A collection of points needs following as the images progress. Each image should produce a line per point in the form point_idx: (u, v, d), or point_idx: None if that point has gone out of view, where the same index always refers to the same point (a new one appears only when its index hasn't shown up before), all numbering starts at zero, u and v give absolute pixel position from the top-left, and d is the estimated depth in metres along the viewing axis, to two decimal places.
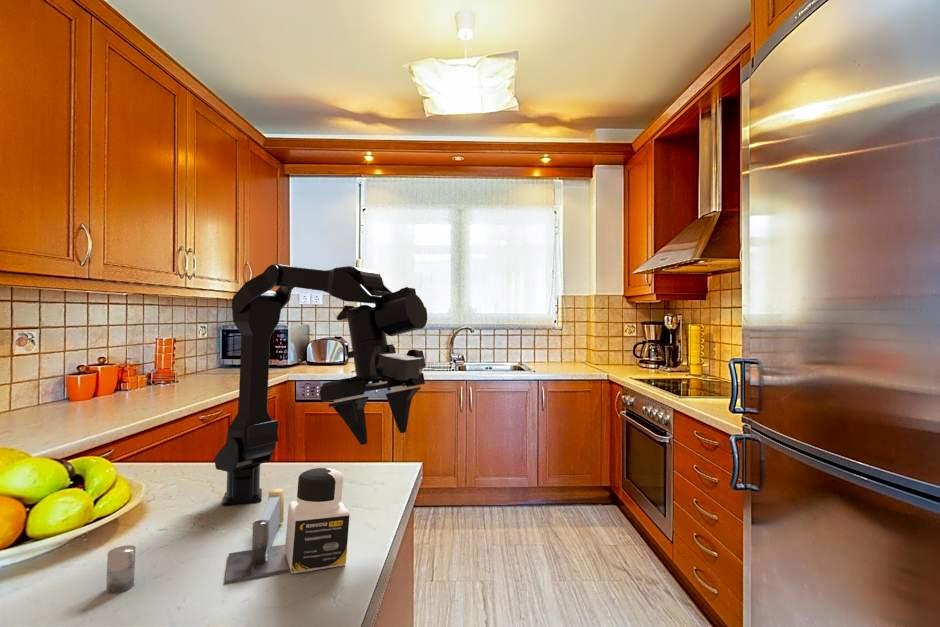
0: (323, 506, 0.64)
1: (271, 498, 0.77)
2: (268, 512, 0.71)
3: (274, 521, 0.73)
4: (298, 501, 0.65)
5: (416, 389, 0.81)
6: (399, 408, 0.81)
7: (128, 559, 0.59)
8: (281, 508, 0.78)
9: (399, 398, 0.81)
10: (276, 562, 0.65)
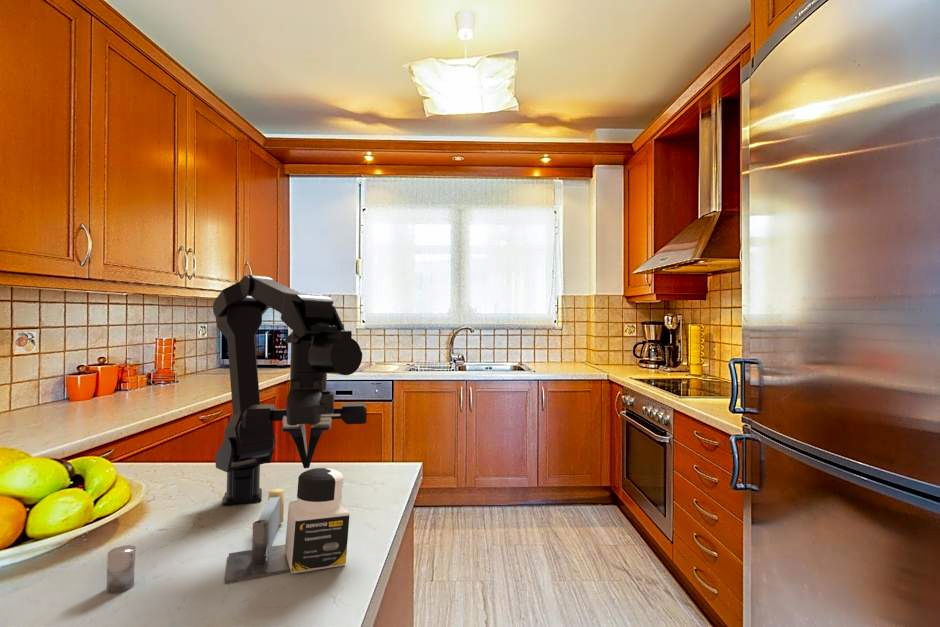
0: (323, 506, 0.64)
1: (271, 498, 0.77)
2: (268, 512, 0.71)
3: (274, 521, 0.73)
4: (298, 501, 0.65)
5: (319, 429, 0.76)
6: None
7: (128, 559, 0.59)
8: (281, 508, 0.78)
9: None
10: (276, 562, 0.65)
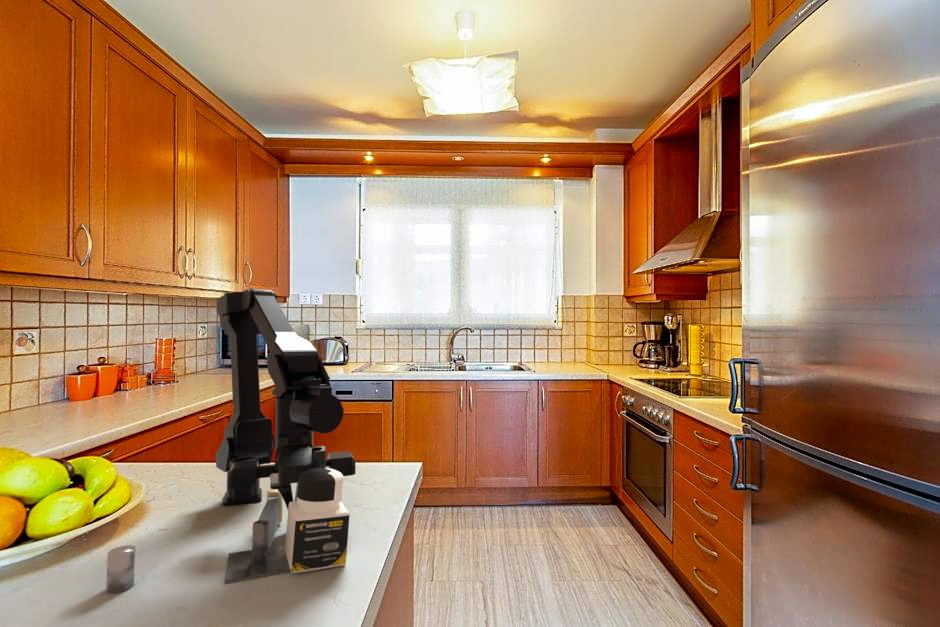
0: (323, 506, 0.64)
1: (270, 498, 0.77)
2: (268, 512, 0.71)
3: (273, 521, 0.73)
4: (298, 501, 0.65)
5: None
6: (295, 496, 0.77)
7: (128, 559, 0.59)
8: (280, 508, 0.78)
9: (297, 486, 0.77)
10: (276, 562, 0.65)
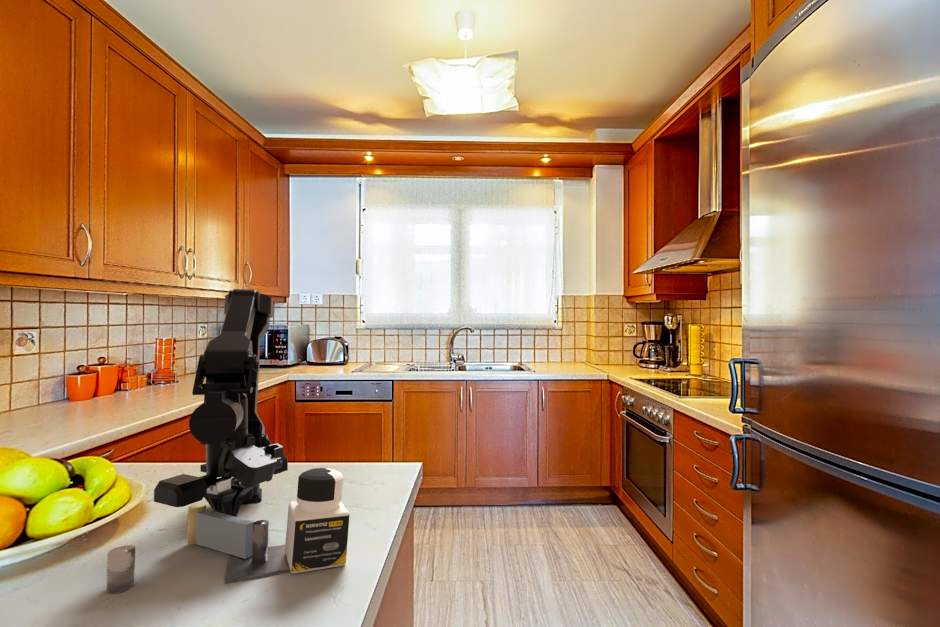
0: (323, 506, 0.64)
1: (203, 513, 0.70)
2: (236, 519, 0.68)
3: None
4: (298, 501, 0.65)
5: (250, 487, 0.73)
6: None
7: (128, 559, 0.59)
8: None
9: None
10: (276, 562, 0.65)
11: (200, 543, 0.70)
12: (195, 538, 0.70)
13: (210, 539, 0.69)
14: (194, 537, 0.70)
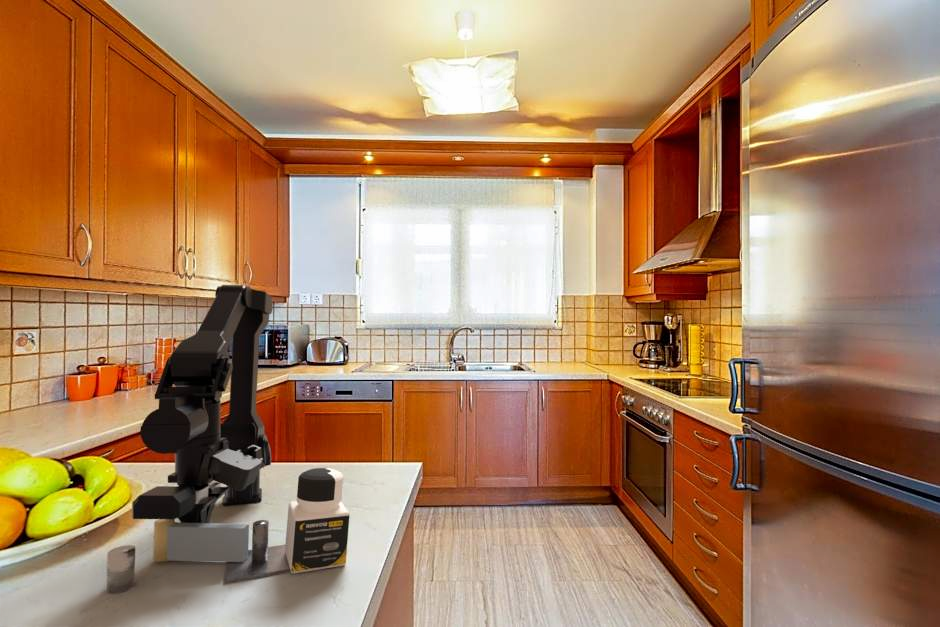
0: (323, 506, 0.64)
1: (177, 525, 0.66)
2: (224, 525, 0.66)
3: None
4: (298, 501, 0.65)
5: (224, 492, 0.71)
6: None
7: (128, 559, 0.59)
8: None
9: None
10: (276, 562, 0.65)
11: (173, 558, 0.65)
12: (166, 554, 0.65)
13: (189, 551, 0.65)
14: (165, 554, 0.65)
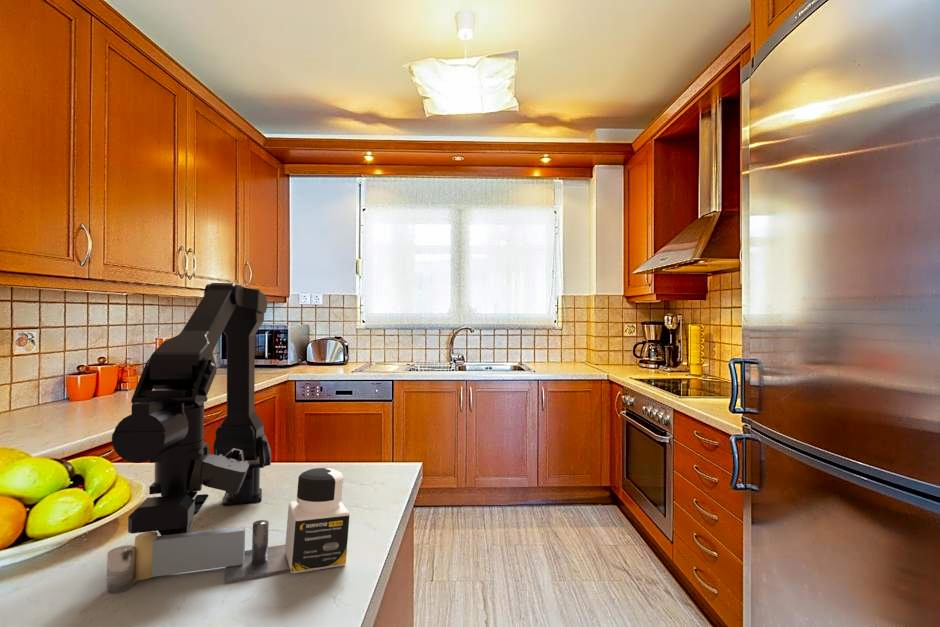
0: (323, 506, 0.64)
1: (163, 538, 0.62)
2: (218, 530, 0.64)
3: None
4: (298, 501, 0.65)
5: (205, 499, 0.68)
6: None
7: (128, 559, 0.59)
8: None
9: None
10: (276, 562, 0.65)
11: (160, 573, 0.61)
12: (152, 570, 0.61)
13: (180, 563, 0.62)
14: (150, 570, 0.61)
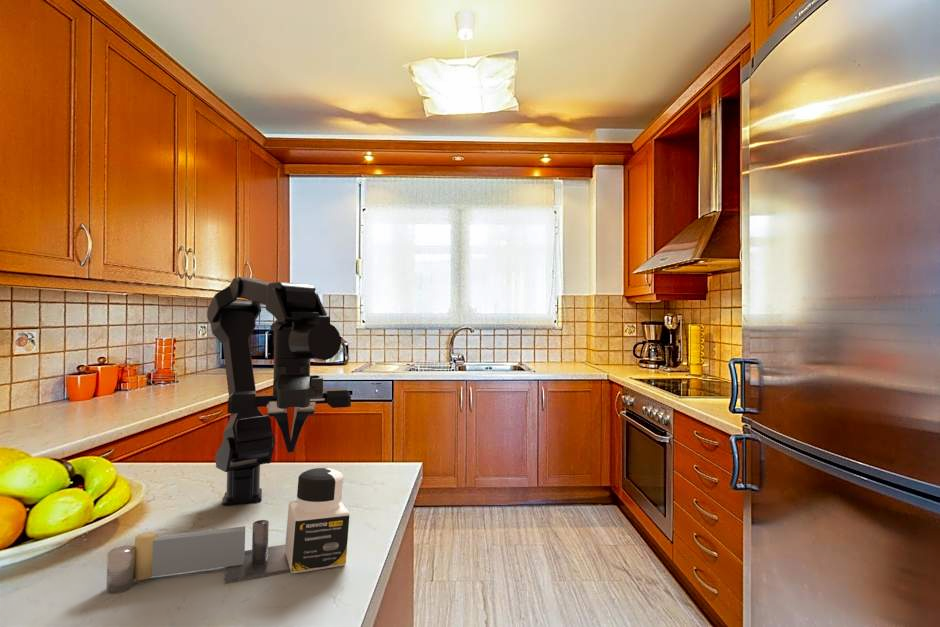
0: (323, 506, 0.64)
1: (163, 538, 0.62)
2: (218, 530, 0.64)
3: None
4: (298, 501, 0.65)
5: (305, 413, 0.78)
6: (293, 427, 0.80)
7: (128, 559, 0.59)
8: None
9: (294, 417, 0.80)
10: (276, 562, 0.65)
11: (160, 573, 0.61)
12: (152, 570, 0.61)
13: (180, 563, 0.62)
14: (150, 570, 0.61)
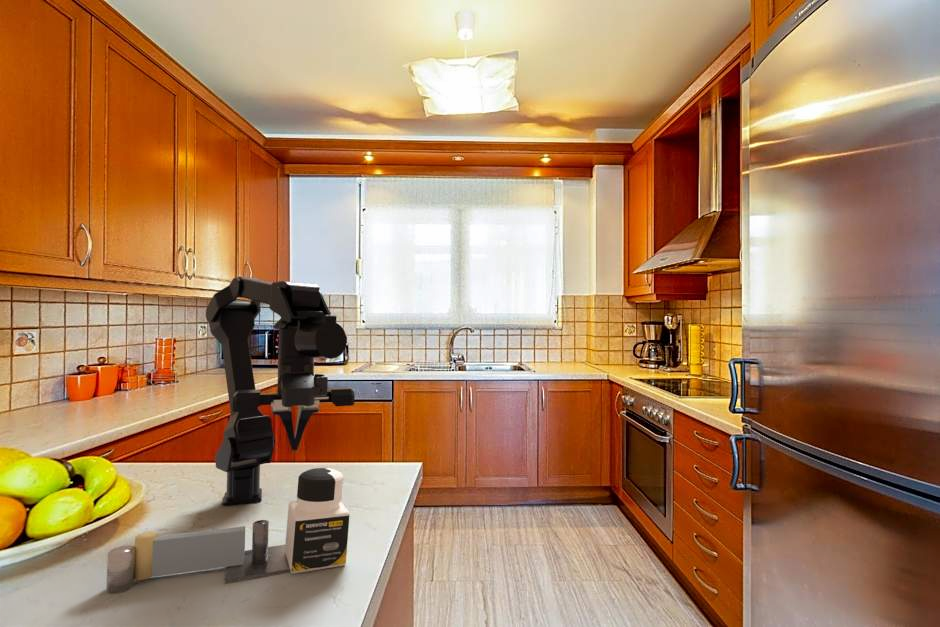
0: (323, 506, 0.64)
1: (163, 538, 0.62)
2: (218, 530, 0.64)
3: None
4: (298, 501, 0.65)
5: (309, 411, 0.78)
6: (297, 425, 0.80)
7: (128, 559, 0.59)
8: None
9: (298, 415, 0.80)
10: (276, 562, 0.65)
11: (160, 573, 0.61)
12: (152, 570, 0.61)
13: (180, 563, 0.62)
14: (150, 570, 0.61)
